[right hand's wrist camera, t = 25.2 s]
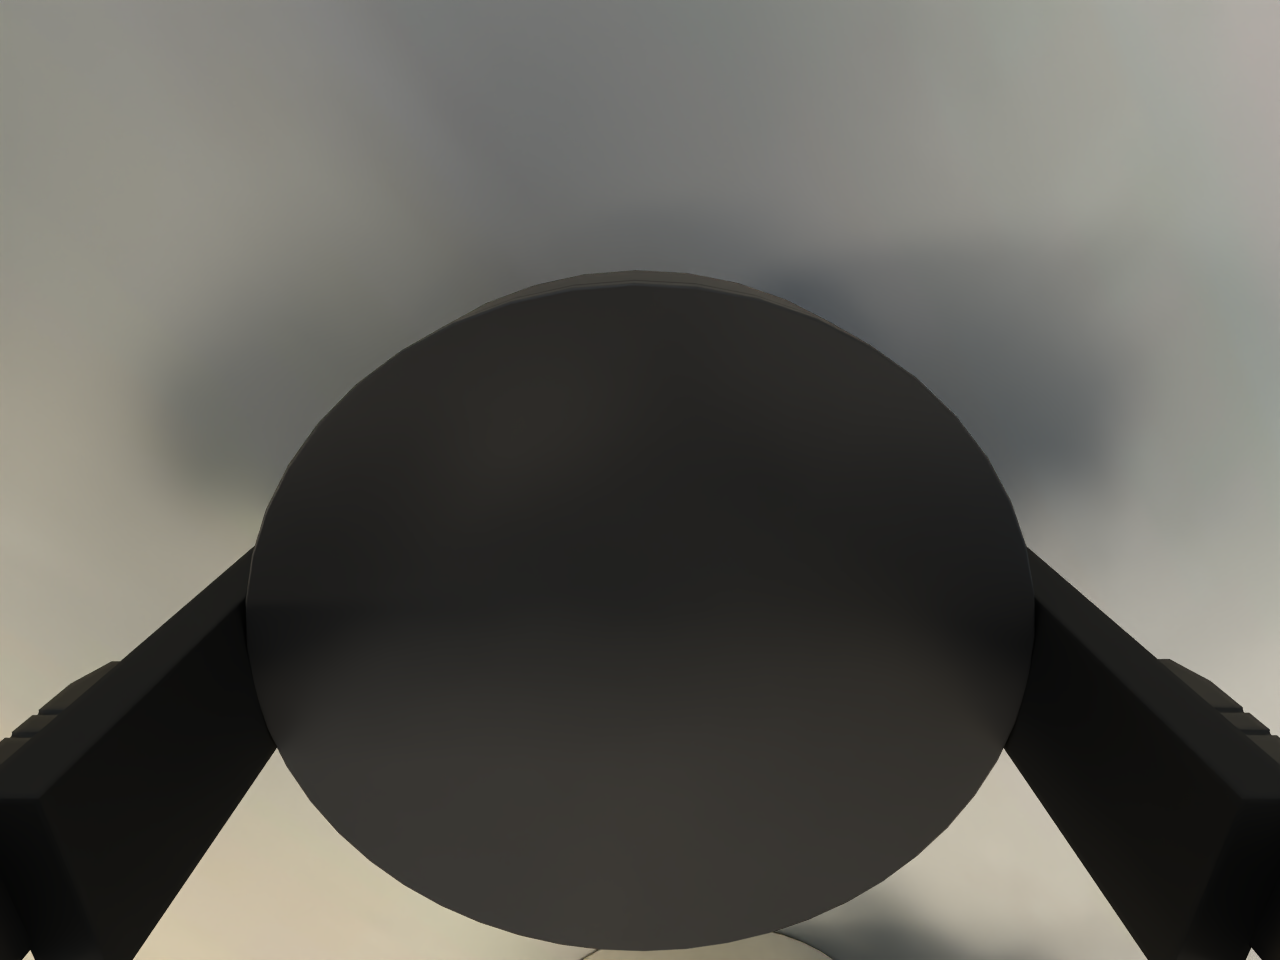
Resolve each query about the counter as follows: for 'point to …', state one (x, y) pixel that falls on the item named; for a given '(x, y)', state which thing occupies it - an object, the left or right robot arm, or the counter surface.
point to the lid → (640, 614)
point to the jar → (726, 951)
